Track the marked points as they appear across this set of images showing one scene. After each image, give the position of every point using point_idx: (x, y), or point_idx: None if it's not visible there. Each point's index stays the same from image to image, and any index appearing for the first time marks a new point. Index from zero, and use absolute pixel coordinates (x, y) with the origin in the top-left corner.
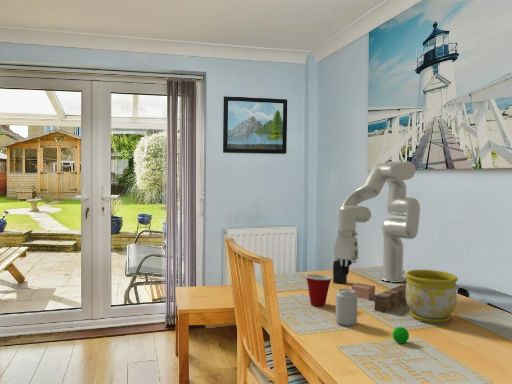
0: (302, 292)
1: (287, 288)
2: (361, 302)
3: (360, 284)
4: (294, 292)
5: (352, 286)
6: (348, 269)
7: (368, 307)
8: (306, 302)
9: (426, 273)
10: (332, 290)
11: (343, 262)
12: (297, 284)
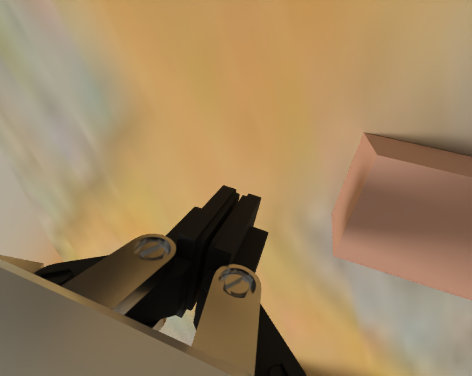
0: (112, 240)
1: (43, 209)
2: (410, 301)
3: (404, 200)
4: (94, 250)
5: (338, 253)
6: (258, 261)
7: (457, 363)
8: (191, 344)
9: None
10: (192, 143)
11: (137, 304)
12: (17, 123)
